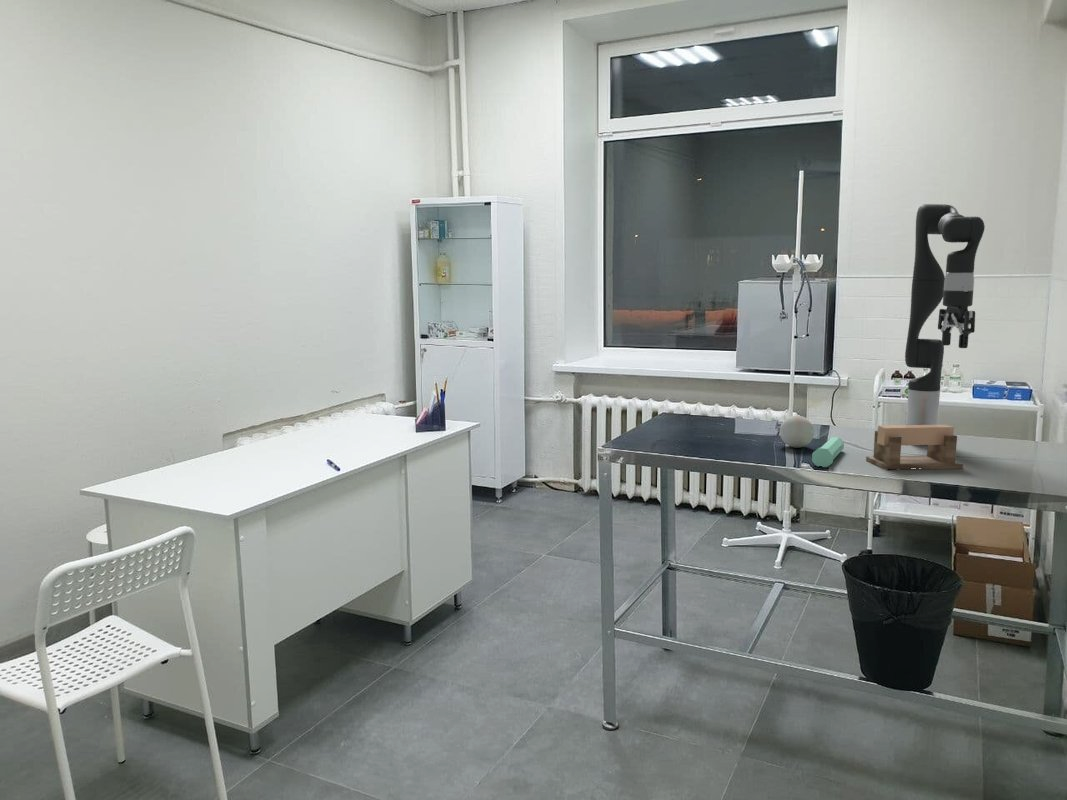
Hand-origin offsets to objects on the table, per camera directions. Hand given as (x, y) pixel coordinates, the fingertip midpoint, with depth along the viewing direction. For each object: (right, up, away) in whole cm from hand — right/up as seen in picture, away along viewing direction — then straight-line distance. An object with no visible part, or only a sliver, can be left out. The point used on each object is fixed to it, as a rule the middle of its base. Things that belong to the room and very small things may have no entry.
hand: (954, 346), depth 238 cm
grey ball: (-37, -30, +24) cm, 54 cm away
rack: (-12, -34, 0) cm, 35 cm away
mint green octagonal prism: (-32, -33, +9) cm, 47 cm away
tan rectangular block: (-12, -28, -1) cm, 30 cm away
